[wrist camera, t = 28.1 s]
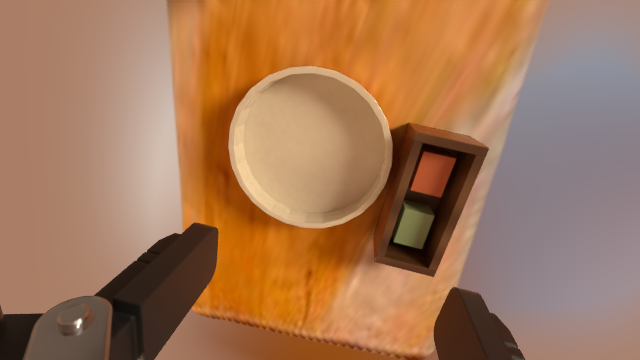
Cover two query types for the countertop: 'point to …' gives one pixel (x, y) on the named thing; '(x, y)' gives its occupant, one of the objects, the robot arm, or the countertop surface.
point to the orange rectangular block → (431, 171)
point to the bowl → (310, 147)
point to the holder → (427, 198)
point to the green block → (413, 224)
